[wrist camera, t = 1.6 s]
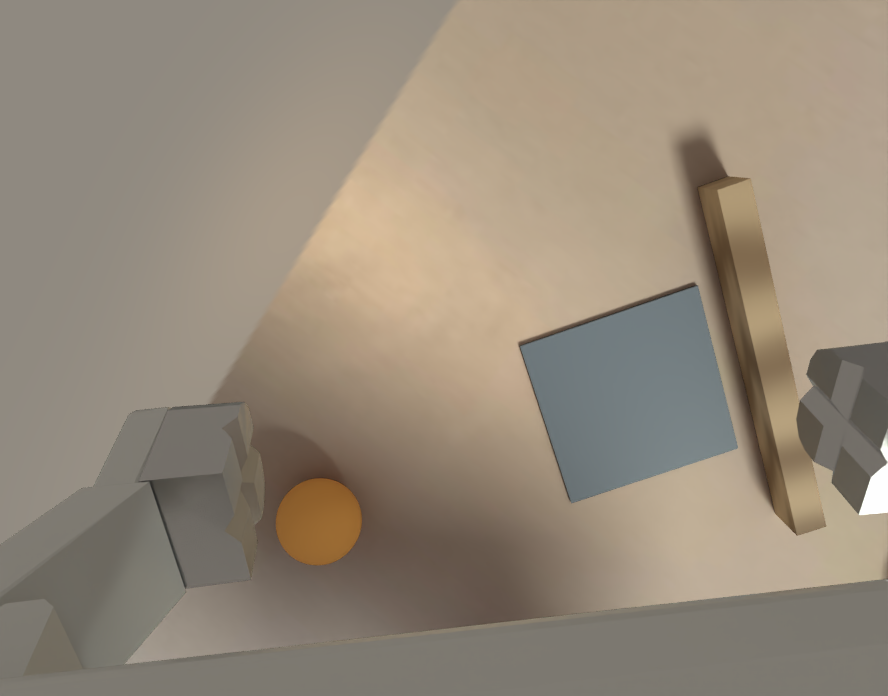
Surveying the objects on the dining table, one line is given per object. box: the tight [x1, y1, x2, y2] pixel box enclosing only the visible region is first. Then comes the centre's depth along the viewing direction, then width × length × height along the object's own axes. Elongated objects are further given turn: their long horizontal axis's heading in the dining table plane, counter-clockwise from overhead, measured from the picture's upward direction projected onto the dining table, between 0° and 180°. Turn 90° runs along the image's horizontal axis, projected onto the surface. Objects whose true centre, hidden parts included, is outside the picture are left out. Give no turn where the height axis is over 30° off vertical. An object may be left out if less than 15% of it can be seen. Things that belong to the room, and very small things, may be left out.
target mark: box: [520, 285, 738, 503], centre depth 48 cm, size 12×12×1 cm
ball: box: [276, 478, 362, 565], centre depth 46 cm, size 6×6×6 cm
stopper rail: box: [698, 177, 826, 536], centre depth 46 cm, size 24×2×3 cm, turn 19°
